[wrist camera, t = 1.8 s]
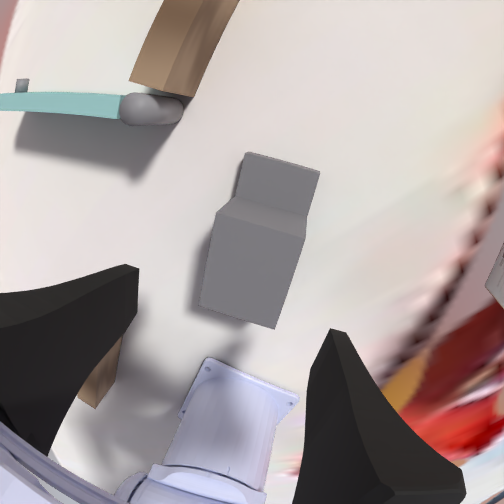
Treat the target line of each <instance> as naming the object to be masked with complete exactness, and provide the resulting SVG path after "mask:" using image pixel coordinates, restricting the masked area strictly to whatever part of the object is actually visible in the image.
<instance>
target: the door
mask: <svg viewBox="0 0 504 504" xmlns="http://www.w3.org/2000/svg"><path fill="white" fill-rule="evenodd" d="M28 84H29V79H17V82H16V88H15V93H4V94H0V111H30V112H49V113H63V114H75V115H85V116H95V117H104V118H112V119H121V120H122V121H123V122H124V123H125V124H127V125H130V126H136V125H159V124H174V123H176V122H178V121H179V120H180V119H181V117H182V115H183V105H182V103H181V102H180V101H179V100H178V99H176V98H171V97H165V96H158V95H151V94H144V93H130V94H128V95H127V96H124V95H112V94H97V93H74V92H27V90H28Z"/></svg>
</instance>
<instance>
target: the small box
mask: <svg viewBox="0 0 504 504" xmlns="http://www.w3.org/2000/svg"><path fill="white" fill-rule="evenodd" d="M485 287H486V288H487V290H488V291H489V292H490V293H491V294H492V296H493V297H494V298H495V299H496V300H497V302H498V303H499V304H500V305H501V306H502V308H503V309H504V243H503V246H502V248H501V250H500V253H499V255H498V257H497V259H496V262H495V264H494V266H493V269H492V271H491V273H490V275H489V277H488V279H487V281H486V284H485Z"/></svg>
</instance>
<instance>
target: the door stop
mask: <svg viewBox="0 0 504 504" xmlns="http://www.w3.org/2000/svg"><path fill="white" fill-rule="evenodd" d="M319 175H320V171H317V170H314V169H311V168H307V167H304V166H300V165H297V164H293V163H290V162H286V161H283V160H279V159H275V158H272V157H268V156H264V155H260V154H256V153H252V152H246V153H245V155H244V160H243V164H242V168H241V172H240V177H239V181H238V185H237V190H236V194H235V196H234V197H233V198H232V199H231V200H230V201H229V202H228V203H227V204H225V205H224V206H223V207H222V208H221V209H220V210H219V211H218V212H216V216H215V221H214V226H213V231H212V236H211V241H210V246H209V251H208V256H207V262H206V267H205V272H204V278H203V283H202V289H201V294H200V300H199V306H201V307H204V308H207V309H210V310H213V311H216V312H219V313H222V314H225V315H228V316H232V317H235V318H238V319H241V320H244V321H248V322H251V323H254V324H257V325H261V326H264V327H268V328H271V329H274V330H275V327H276V324H277V321H278V319H279V316H280V313H281V310H282V307H283V304H284V301H285V298H286V296H287V293H288V290H289V287H290V284H291V281H292V278H293V275H294V272H295V269H296V266H297V263H298V260H299V257H300V254H301V251H302V248H303V245H304V241H305V237H306V225H307V215H308V212H309V209H310V206H311V202H312V199H313V196H314V192H315V189H316V186H317V182H318V179H319Z"/></svg>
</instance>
